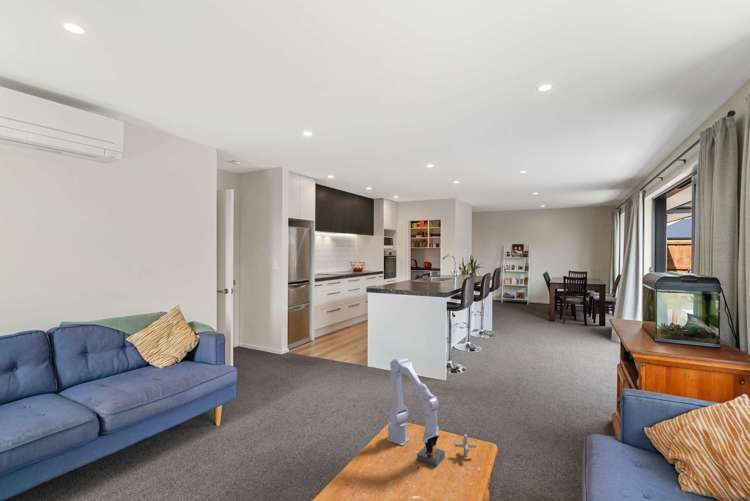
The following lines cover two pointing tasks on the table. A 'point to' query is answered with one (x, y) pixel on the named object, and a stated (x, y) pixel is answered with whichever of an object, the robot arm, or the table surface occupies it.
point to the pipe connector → (465, 445)
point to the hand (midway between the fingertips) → (430, 450)
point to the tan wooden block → (433, 451)
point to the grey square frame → (431, 457)
